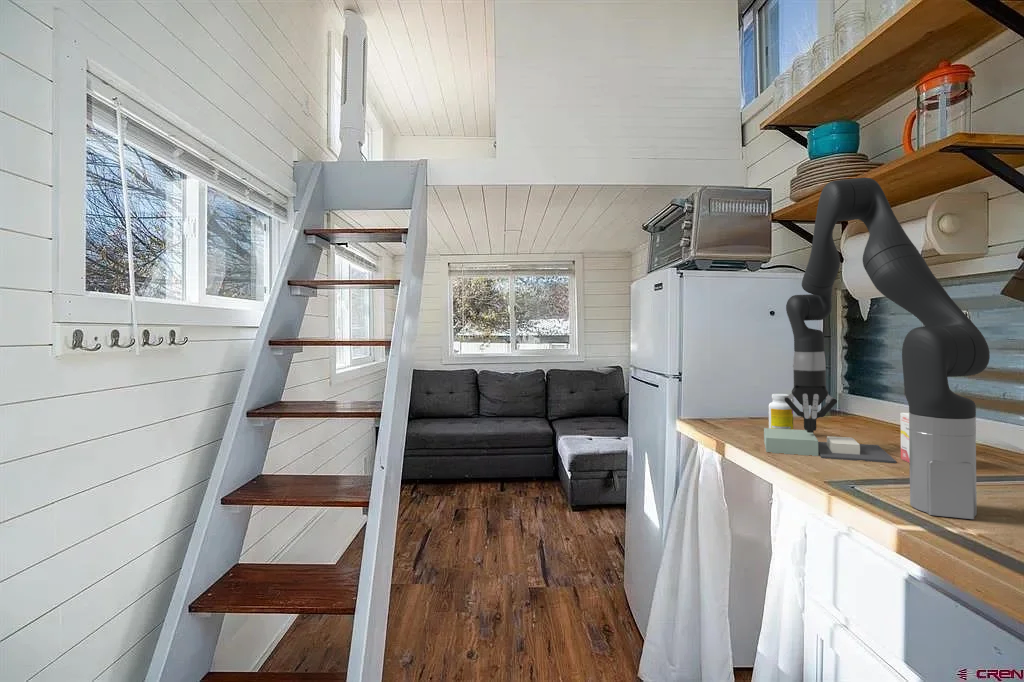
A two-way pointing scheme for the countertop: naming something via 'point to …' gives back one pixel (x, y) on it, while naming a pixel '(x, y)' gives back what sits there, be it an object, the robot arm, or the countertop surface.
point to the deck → (790, 441)
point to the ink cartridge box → (904, 436)
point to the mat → (866, 453)
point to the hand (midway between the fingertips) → (810, 432)
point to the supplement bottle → (780, 413)
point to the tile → (843, 445)
